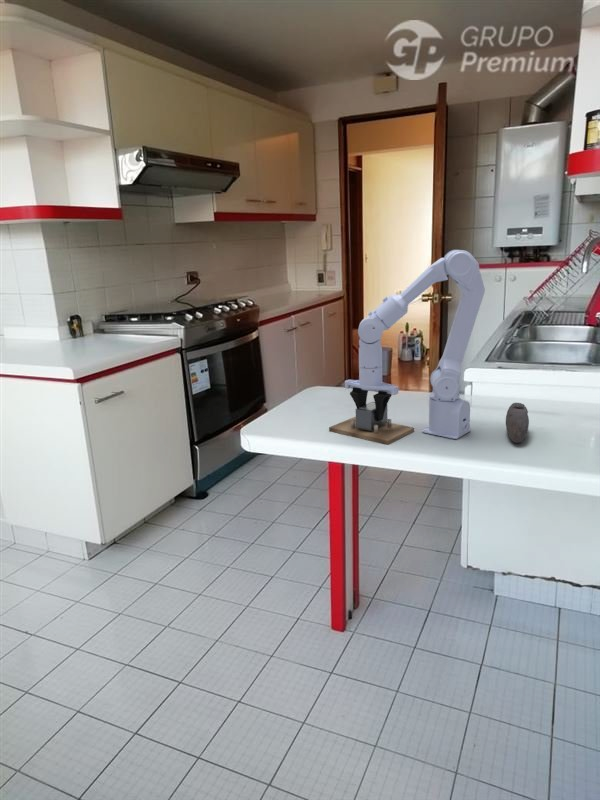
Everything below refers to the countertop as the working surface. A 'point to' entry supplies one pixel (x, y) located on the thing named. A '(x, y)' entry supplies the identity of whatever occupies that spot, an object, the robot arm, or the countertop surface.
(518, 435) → the perforated stone tool
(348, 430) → the pin tray
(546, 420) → the countertop surface
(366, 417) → the block
